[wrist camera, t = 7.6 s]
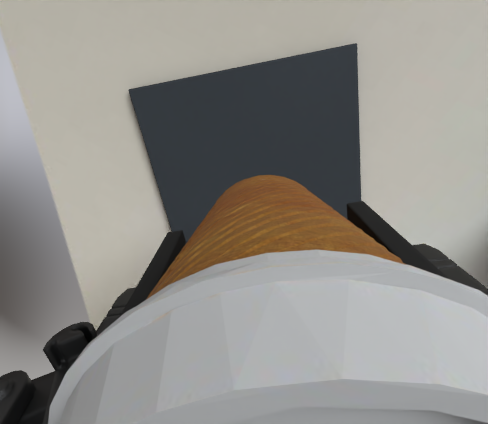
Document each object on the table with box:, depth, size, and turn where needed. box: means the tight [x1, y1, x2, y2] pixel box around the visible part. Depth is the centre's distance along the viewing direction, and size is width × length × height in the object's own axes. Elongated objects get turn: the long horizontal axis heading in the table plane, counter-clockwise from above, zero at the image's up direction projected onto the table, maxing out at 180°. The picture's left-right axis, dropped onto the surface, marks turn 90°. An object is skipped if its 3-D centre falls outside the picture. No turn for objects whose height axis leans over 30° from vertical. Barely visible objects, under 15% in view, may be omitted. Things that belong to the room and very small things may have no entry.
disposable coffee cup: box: [48, 175, 488, 424], centre depth 10 cm, size 10×10×12 cm
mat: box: [129, 44, 361, 243], centre depth 26 cm, size 18×18×1 cm
